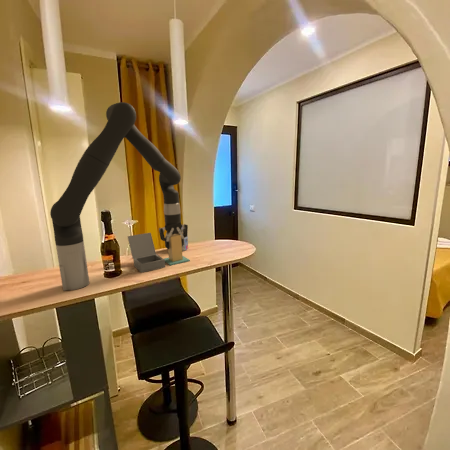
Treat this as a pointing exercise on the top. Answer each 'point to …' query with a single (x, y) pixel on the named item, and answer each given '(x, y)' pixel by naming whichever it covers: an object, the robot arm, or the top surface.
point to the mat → (176, 261)
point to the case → (149, 263)
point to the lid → (141, 245)
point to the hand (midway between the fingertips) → (174, 247)
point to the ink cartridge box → (184, 242)
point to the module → (175, 248)
